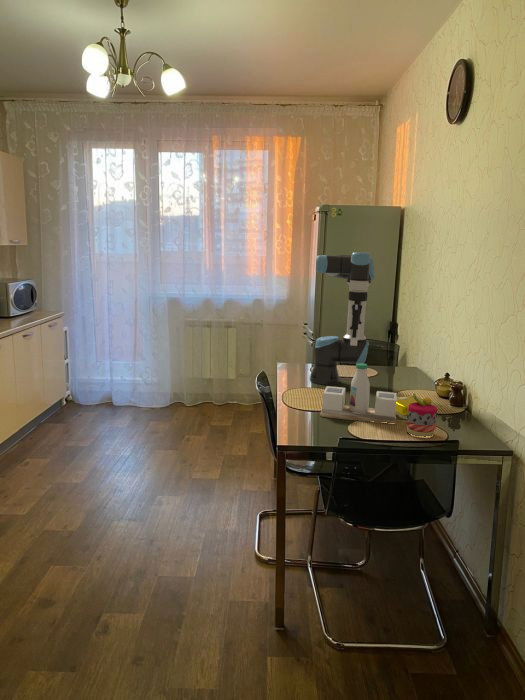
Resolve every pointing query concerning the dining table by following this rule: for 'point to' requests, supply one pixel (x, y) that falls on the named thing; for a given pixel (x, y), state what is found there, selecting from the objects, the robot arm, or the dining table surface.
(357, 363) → the robot arm
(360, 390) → the milk bottle
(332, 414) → the mounting board
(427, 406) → the cake
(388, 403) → the mounted modules
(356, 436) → the dining table surface
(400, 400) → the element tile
